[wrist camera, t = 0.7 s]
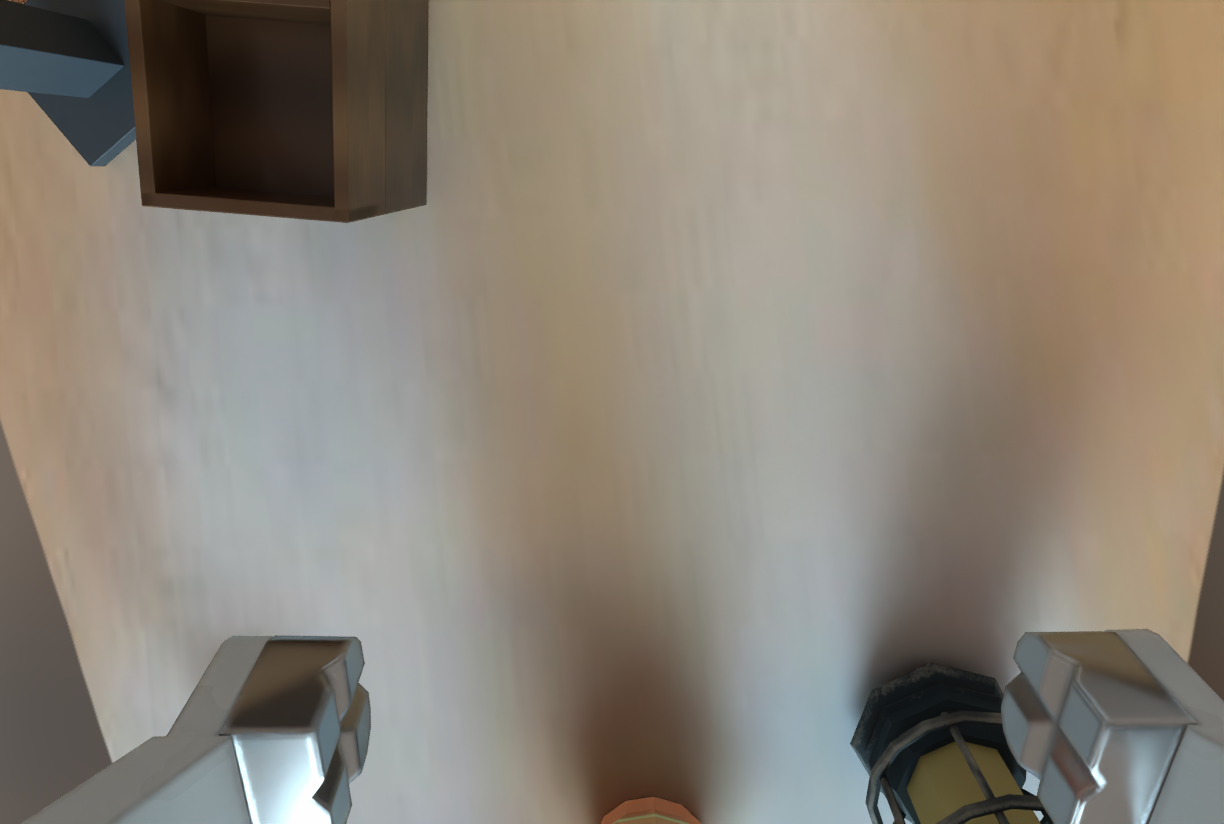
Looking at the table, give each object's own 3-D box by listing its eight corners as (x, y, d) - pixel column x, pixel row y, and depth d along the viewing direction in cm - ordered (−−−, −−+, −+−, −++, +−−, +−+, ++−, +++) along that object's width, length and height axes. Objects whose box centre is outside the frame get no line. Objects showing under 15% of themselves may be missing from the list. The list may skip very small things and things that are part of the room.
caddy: (263, -53, 50) (112, -136, 36) (429, -41, 50) (343, -118, 36) (273, 192, 55) (141, 206, 40) (426, 205, 54) (348, 223, 40)
